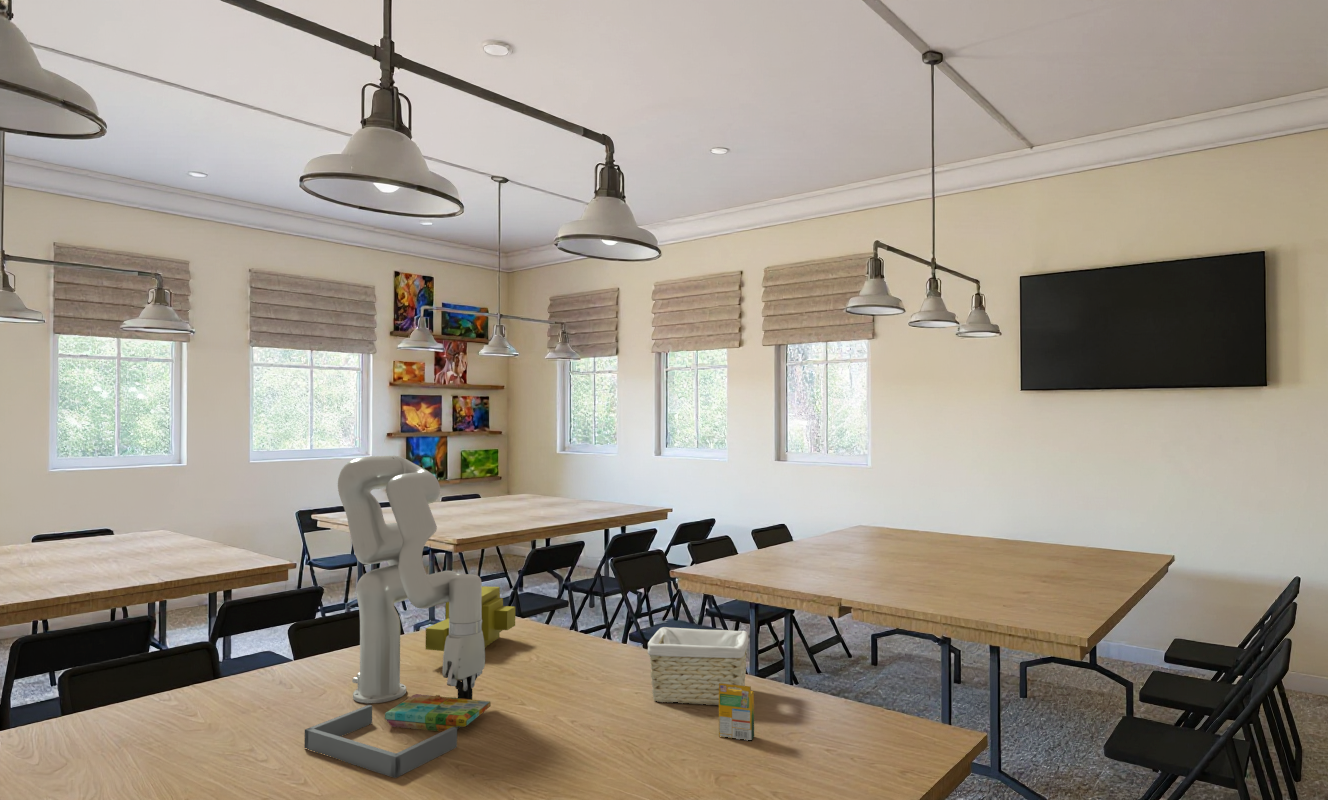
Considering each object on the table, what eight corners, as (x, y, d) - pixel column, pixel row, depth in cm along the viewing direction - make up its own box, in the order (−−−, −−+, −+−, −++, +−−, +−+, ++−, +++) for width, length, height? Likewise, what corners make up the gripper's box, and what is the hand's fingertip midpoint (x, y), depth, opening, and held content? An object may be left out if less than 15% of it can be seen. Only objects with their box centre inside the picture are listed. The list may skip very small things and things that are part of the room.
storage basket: (645, 703, 186) (645, 642, 186) (659, 681, 201) (659, 625, 202) (744, 710, 181) (743, 647, 181) (750, 687, 197) (749, 629, 197)
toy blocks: (474, 584, 248) (522, 586, 245) (474, 634, 248) (521, 636, 245) (422, 610, 214) (476, 612, 211) (421, 668, 213) (476, 671, 210)
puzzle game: (413, 691, 182) (490, 697, 178) (413, 710, 182) (490, 718, 177) (384, 708, 171) (466, 716, 166) (384, 730, 171) (466, 738, 166)
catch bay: (304, 748, 160) (304, 729, 160) (368, 722, 174) (368, 704, 174) (395, 778, 146) (395, 757, 146) (456, 747, 160) (456, 727, 160)
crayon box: (754, 736, 165) (754, 682, 166) (751, 741, 163) (751, 686, 163) (722, 732, 168) (721, 678, 168) (718, 737, 165) (718, 683, 165)
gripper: (475, 618, 190) (475, 693, 190) (430, 633, 177) (429, 713, 177) (498, 622, 187) (498, 698, 186) (454, 637, 174) (453, 718, 173)
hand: (464, 705), depth 181 cm, fingers closed
